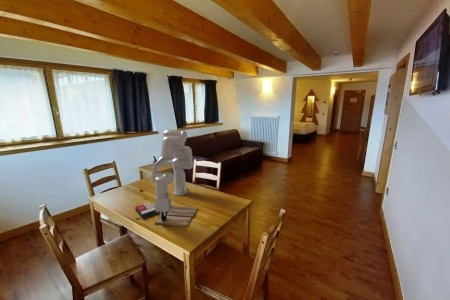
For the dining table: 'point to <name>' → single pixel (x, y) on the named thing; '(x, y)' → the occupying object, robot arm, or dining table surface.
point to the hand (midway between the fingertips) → (164, 220)
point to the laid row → (182, 211)
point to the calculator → (146, 210)
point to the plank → (174, 221)
